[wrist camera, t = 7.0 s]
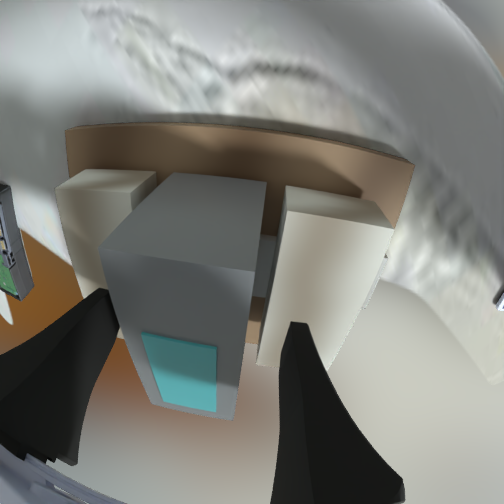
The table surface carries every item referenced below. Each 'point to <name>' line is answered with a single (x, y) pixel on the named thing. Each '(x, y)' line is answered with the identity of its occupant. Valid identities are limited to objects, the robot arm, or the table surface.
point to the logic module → (187, 288)
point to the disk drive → (12, 251)
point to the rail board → (273, 220)
